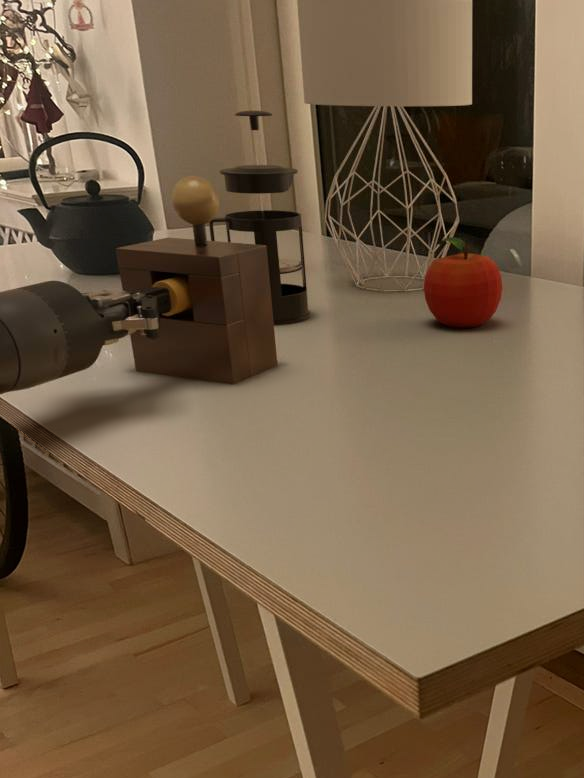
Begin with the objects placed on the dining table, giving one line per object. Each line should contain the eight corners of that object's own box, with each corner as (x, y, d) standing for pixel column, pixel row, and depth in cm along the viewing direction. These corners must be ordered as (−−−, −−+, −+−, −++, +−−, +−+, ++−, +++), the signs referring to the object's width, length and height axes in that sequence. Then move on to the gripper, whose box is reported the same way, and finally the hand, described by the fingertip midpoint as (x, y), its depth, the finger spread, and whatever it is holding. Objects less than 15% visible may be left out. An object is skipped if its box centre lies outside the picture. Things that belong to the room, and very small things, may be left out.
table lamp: (325, 270, 153) (304, -41, 133) (469, 270, 154) (469, -39, 134) (309, 299, 134) (282, -60, 114) (474, 299, 135) (475, -57, 115)
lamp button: (179, 317, 95) (175, 282, 93) (152, 314, 96) (147, 279, 95) (199, 311, 97) (194, 277, 96) (172, 308, 99) (167, 274, 97)
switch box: (233, 385, 98) (210, 184, 89) (135, 372, 102) (103, 178, 93) (277, 366, 104) (260, 176, 95) (184, 354, 108) (158, 171, 99)
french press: (309, 307, 130) (294, 109, 118) (321, 323, 122) (306, 112, 110) (217, 312, 126) (193, 109, 115) (224, 329, 119) (198, 112, 107)
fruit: (475, 337, 116) (475, 246, 111) (409, 326, 121) (407, 239, 116) (516, 322, 123) (519, 236, 118) (453, 313, 128) (453, 230, 123)
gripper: (82, 296, 77) (216, 262, 91) (-44, 282, 81) (102, 252, 95) (100, 391, 81) (226, 345, 94) (-22, 373, 85) (115, 331, 99)
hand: (163, 298), depth 95 cm, fingers closed
